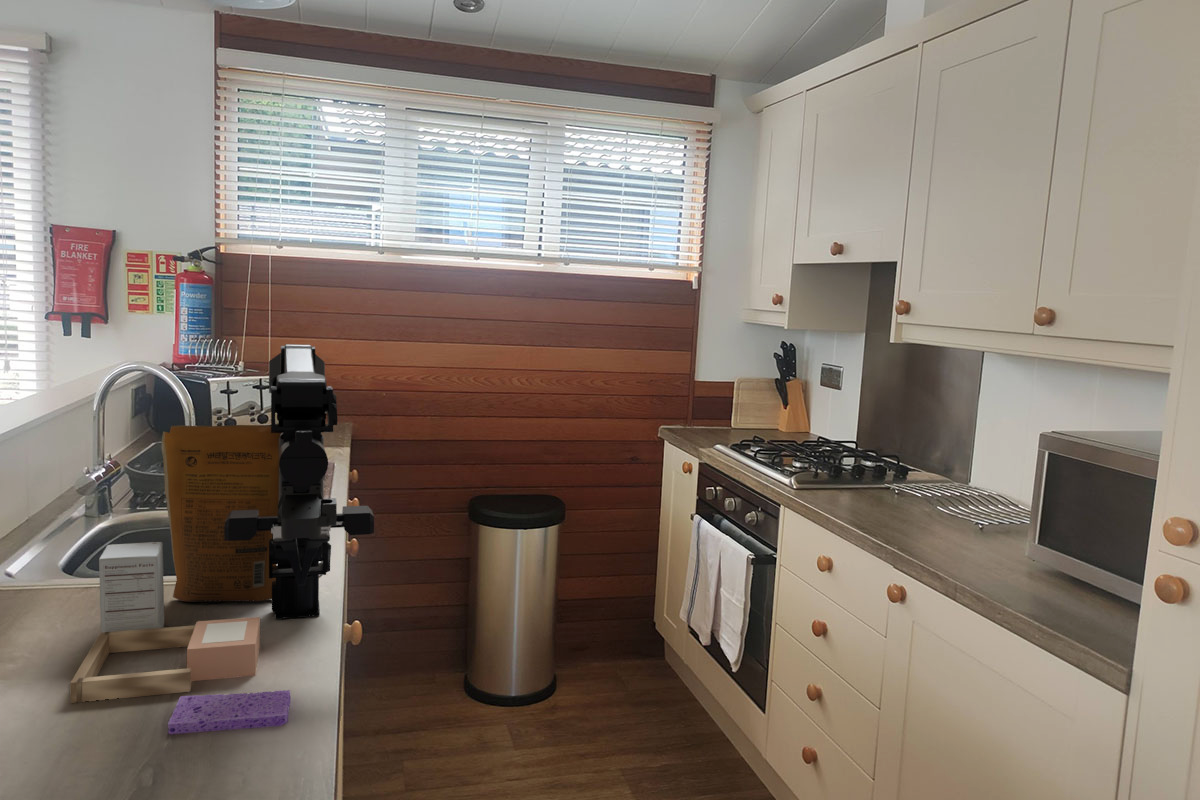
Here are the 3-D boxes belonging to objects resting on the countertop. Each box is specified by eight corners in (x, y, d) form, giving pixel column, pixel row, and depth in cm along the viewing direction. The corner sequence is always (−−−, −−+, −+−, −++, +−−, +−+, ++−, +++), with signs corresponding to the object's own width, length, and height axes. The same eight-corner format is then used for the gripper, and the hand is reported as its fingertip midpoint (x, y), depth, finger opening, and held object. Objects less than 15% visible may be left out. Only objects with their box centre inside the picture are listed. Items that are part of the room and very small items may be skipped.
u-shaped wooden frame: (204, 641, 122) (203, 624, 122) (190, 691, 106) (189, 672, 106) (100, 650, 118) (100, 632, 117) (70, 703, 102) (70, 682, 102)
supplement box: (108, 628, 125) (106, 543, 124) (165, 624, 128) (164, 540, 127) (99, 648, 118) (97, 558, 117) (159, 642, 121) (158, 554, 120)
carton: (259, 647, 121) (259, 616, 121) (255, 677, 112) (255, 643, 111) (197, 653, 119) (196, 620, 118) (187, 683, 109) (187, 648, 109)
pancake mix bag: (281, 604, 136) (286, 425, 136) (153, 604, 134) (159, 423, 134) (291, 595, 142) (296, 425, 143) (170, 595, 140) (176, 422, 141)
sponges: (180, 710, 103) (180, 695, 102) (292, 702, 106) (292, 687, 106) (166, 739, 96) (166, 723, 96) (286, 729, 99) (286, 713, 99)
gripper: (220, 485, 105) (221, 610, 107) (378, 481, 111) (376, 599, 113) (227, 468, 116) (228, 582, 117) (371, 465, 122) (370, 573, 123)
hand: (301, 584), depth 117 cm, fingers closed
